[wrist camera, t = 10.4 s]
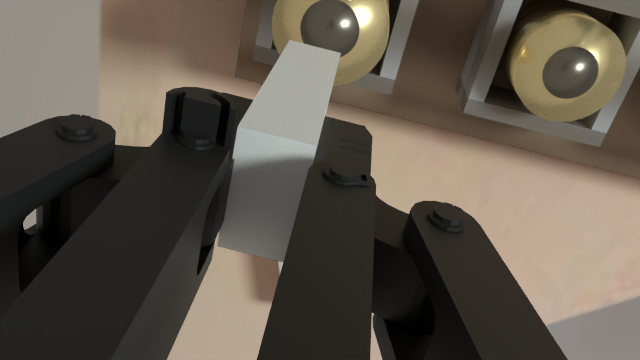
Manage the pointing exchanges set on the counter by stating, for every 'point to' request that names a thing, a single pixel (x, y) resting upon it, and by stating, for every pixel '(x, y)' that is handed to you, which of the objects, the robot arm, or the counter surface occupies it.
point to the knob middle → (562, 61)
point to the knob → (336, 31)
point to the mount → (475, 77)
